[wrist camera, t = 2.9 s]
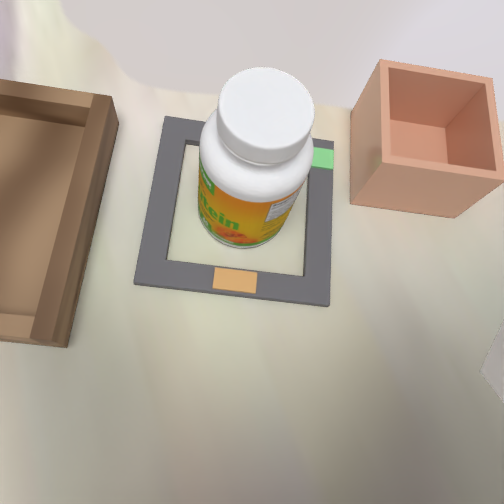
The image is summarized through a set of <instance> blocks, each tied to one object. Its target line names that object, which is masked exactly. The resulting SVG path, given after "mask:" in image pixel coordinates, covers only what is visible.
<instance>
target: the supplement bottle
mask: <svg viewBox="0 0 504 504" xmlns="http://www.w3.org/2000/svg"><path fill="white" fill-rule="evenodd" d="M314 117H315V109H314V103H313V100H312V98H311V95H310V94H309V92H308V90H307V89H306V88H305V86H304V85H303V84H302V83H301V82H300V81H298V80H297V79H296V78H295V77H293V76H292V75H290V74H288V73H286V72H284V71H281V70H278V69H274V68H268V67H256V68H250V69H246V70H243V71H241V72H239V73H237V74H235V75H234V76H232V77H231V78H230V79H229V80H228V81H227V82H226V83H225V85H224V86H223V88H222V90H221V92H220V95H219V99H218V107H217V109H216V110H215V111H214V112H213V113H212V114H211V115H210V117H209V118H208V120H207V121H206V123H205V125H204V127H203V130H202V133H201V137H200V146H199V185H198V211H199V216H200V219H201V221H202V223H203V225H204V227H205V228H206V230H207V231H208V232H209V233H210V234H211V235H212V236H213V237H214V238H215V239H217V240H218V241H220V242H222V243H224V244H226V245H228V246H232V247H237V248H251V247H256V246H259V245H262V244H264V243H266V242H267V241H269V240H270V239H272V238H273V237H274V236H275V235H276V234H277V233H278V232H279V230H280V229H281V227H282V226H283V224H284V222H285V220H286V218H287V216H288V214H289V212H290V210H291V208H292V206H293V204H294V202H295V200H296V198H297V196H298V194H299V192H300V189H301V187H302V185H303V183H304V181H305V179H306V177H307V175H308V173H309V170H310V168H311V165H312V161H313V155H314V147H313V140H312V137H311V134H310V131H311V128H312V125H313V122H314Z"/></svg>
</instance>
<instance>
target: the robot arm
mask: <svg viewBox="0 0 504 504" xmlns="http://www.w3.org/2000/svg"><path fill="white" fill-rule="evenodd" d="M480 373H481V374H482V375H483V377H484V378H485V379H486V381H487V382H488V383H489V384H490V386H491V387H492V388H493V390H494V391H495V392H496V394H497V395H498V396H499V398H500V399H501V400H502V402H503V403H504V320H503V322H502V324H501V327H500V329H499V331H498V333H497V335H496V337H495V339H494V342H493V344H492V346H491V348H490V350H489V352H488V354H487V357H486V359H485V361H484V363H483V365H482V367H481V369H480Z"/></svg>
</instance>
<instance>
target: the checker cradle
mask: <svg viewBox="0 0 504 504" xmlns="http://www.w3.org/2000/svg"><path fill="white" fill-rule="evenodd" d="M205 123H206V122H203V121H196V120H189V119H183V118H176V117H170V116H165V118H164V123H163V129H162V134H161V139H160V144H159V150H158V155H157V160H156V166H155V171H154V176H153V181H152V187H151V192H150V197H149V203H148V208H147V213H146V218H145V224H144V229H143V234H142V240H141V245H140V250H139V255H138V261H137V266H136V271H135V276H134V285H141V286H150V287H159V288H167V289H176V290H184V291H193V292H202V293H210V294H219V295H228V296H236V297H245V298H253V299H262V300H271V301H279V302H288V303H296V304H305V305H314V306H322V307H328V306H329V305H330V278H331V236H332V194H333V158H334V141H328V140H321V139H315V138H312V140H313V147H314V155H313V161H312V165H311V168H310V170H309V173H308V185H307V207H306V228H305V249H304V270H303V276H294V275H286V274H278V273H270V272H262V271H254V270H245V269H237V268H229V267H221V266H213V265H204V264H196V263H188V262H180V261H172V260H166V259H167V253H168V247H169V241H170V235H171V229H172V223H173V217H174V211H175V205H176V198H177V192H178V186H179V180H180V174H181V168H182V162H183V156H184V150H185V144H190V145H197V146H200V137H201V133H202V130H203V127H204V125H205Z"/></svg>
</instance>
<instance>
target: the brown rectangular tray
mask: <svg viewBox="0 0 504 504" xmlns="http://www.w3.org/2000/svg"><path fill="white" fill-rule="evenodd" d="M118 126H119V122H118V118H117V115H116V111H115V107H114V103H113V99H112V96H107V95H101V94H94V93H88V92H81V91H75V90H68V89H62V88H55V87H49V86H42V85H36V84H29V83H23V82H16V81H10V80H3V79H0V341H5V342H15V343H25V344H34V345H44V346H54V347H64V348H67V345H68V341H69V336H70V332H71V328H72V324H73V319H74V315H75V311H76V306H77V302H78V298H79V293H80V289H81V285H82V281H83V276H84V272H85V268H86V263H87V259H88V255H89V250H90V246H91V242H92V237H93V233H94V229H95V225H96V220H97V216H98V212H99V207H100V203H101V199H102V194H103V190H104V186H105V182H106V177H107V173H108V169H109V164H110V160H111V156H112V151H113V147H114V143H115V139H116V134H117V130H118Z"/></svg>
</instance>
